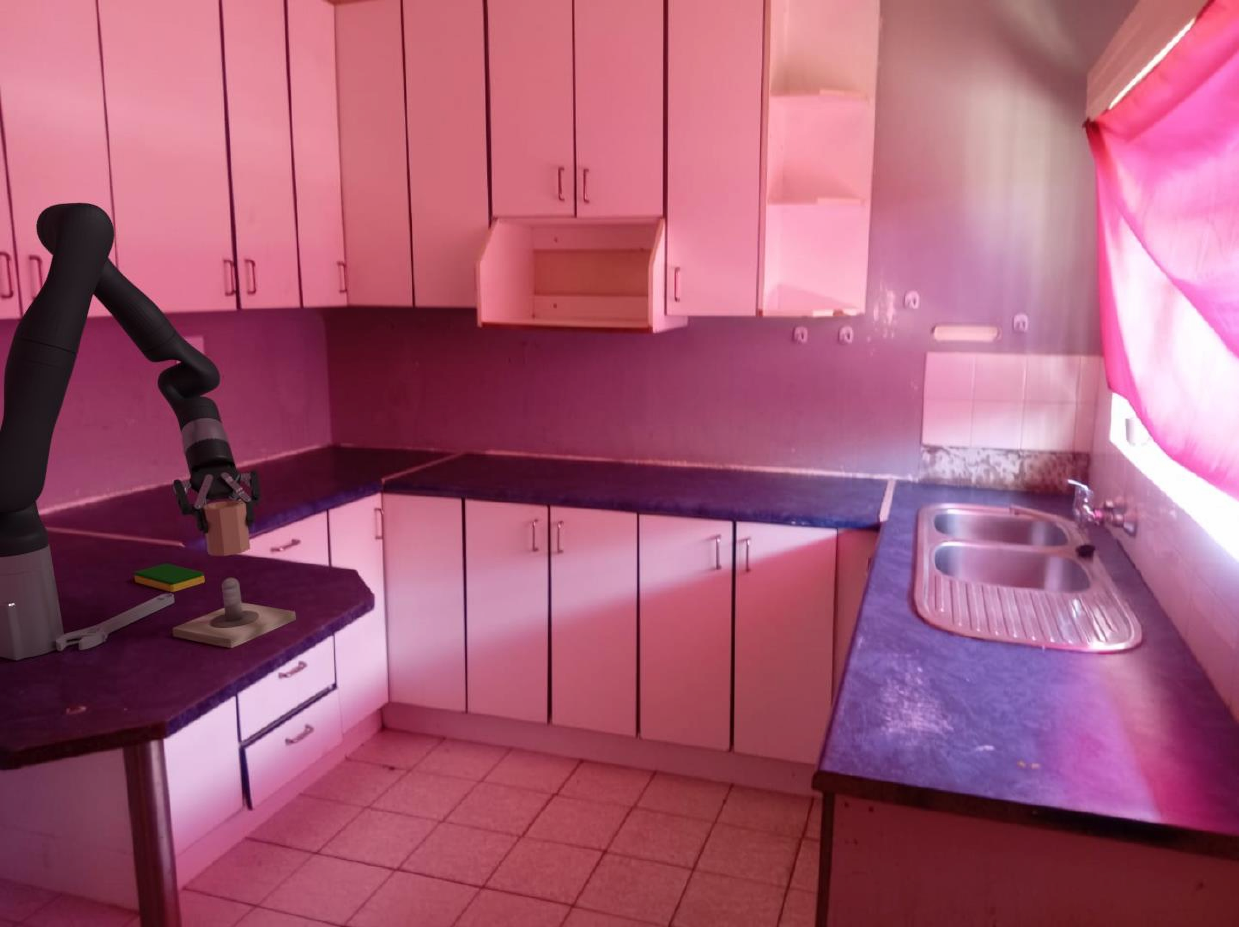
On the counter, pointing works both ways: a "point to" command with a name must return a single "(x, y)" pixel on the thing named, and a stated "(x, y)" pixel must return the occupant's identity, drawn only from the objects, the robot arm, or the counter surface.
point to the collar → (226, 528)
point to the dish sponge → (169, 577)
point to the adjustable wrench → (112, 624)
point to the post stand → (233, 620)
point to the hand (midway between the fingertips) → (228, 527)
